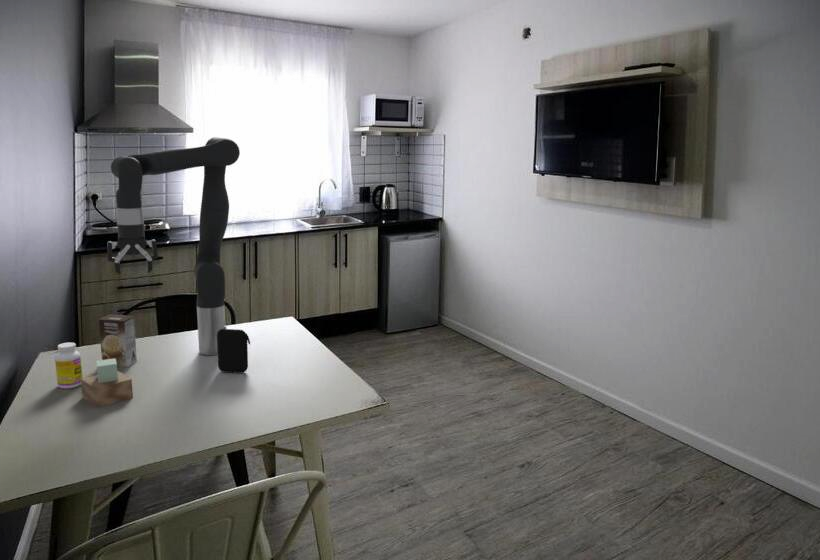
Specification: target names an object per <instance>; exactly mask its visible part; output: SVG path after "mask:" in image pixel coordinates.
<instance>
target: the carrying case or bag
mask: <svg viewBox="0 0 820 560" xmlns="http://www.w3.org/2000/svg"><path fill="white" fill-rule="evenodd" d="M248 345H251V341H250V337H249V335H248V333H246V331H244V330H243V329H238V328H237V329H236V328H235V329H234V328H231V329H230V328H227V329H220V330H219V331H218V332H217V350H218V355H217V366H218V370H219V371H220V372H222V373H234V372H243V373H245V372H246V371H247V370H248V368H249V360H248V359H249V357H248V356H249V355H248V354H249V353H248V349H249V348H248Z"/></svg>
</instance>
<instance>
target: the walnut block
mask: <svg viewBox="0 0 820 560" xmlns="http://www.w3.org/2000/svg"><path fill="white" fill-rule="evenodd" d="M117 372H118V380H117V381H110V382H103V383H98V376H97V374H95V375H91V376H88V377H84V378H83V377H82V378H83V379H81V385H80V386H81V394H82V398H83V399H84V400H86V401H87V402H88V403H89V404H91V405H92V406H94V407H95V408H96V409H98V408H99V409H100V408H101V407H106V406H108V405H112V404H115V403H119V402H122V401H126V400H129V399H132V398H133V399H134V394H133V393H134V392H133V390H134V389H133V381H132V380H133V379H132V378H131V377H129V376H127V375H125V374H124V373H123V372H121V371H119V370H118V369H117Z"/></svg>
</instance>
